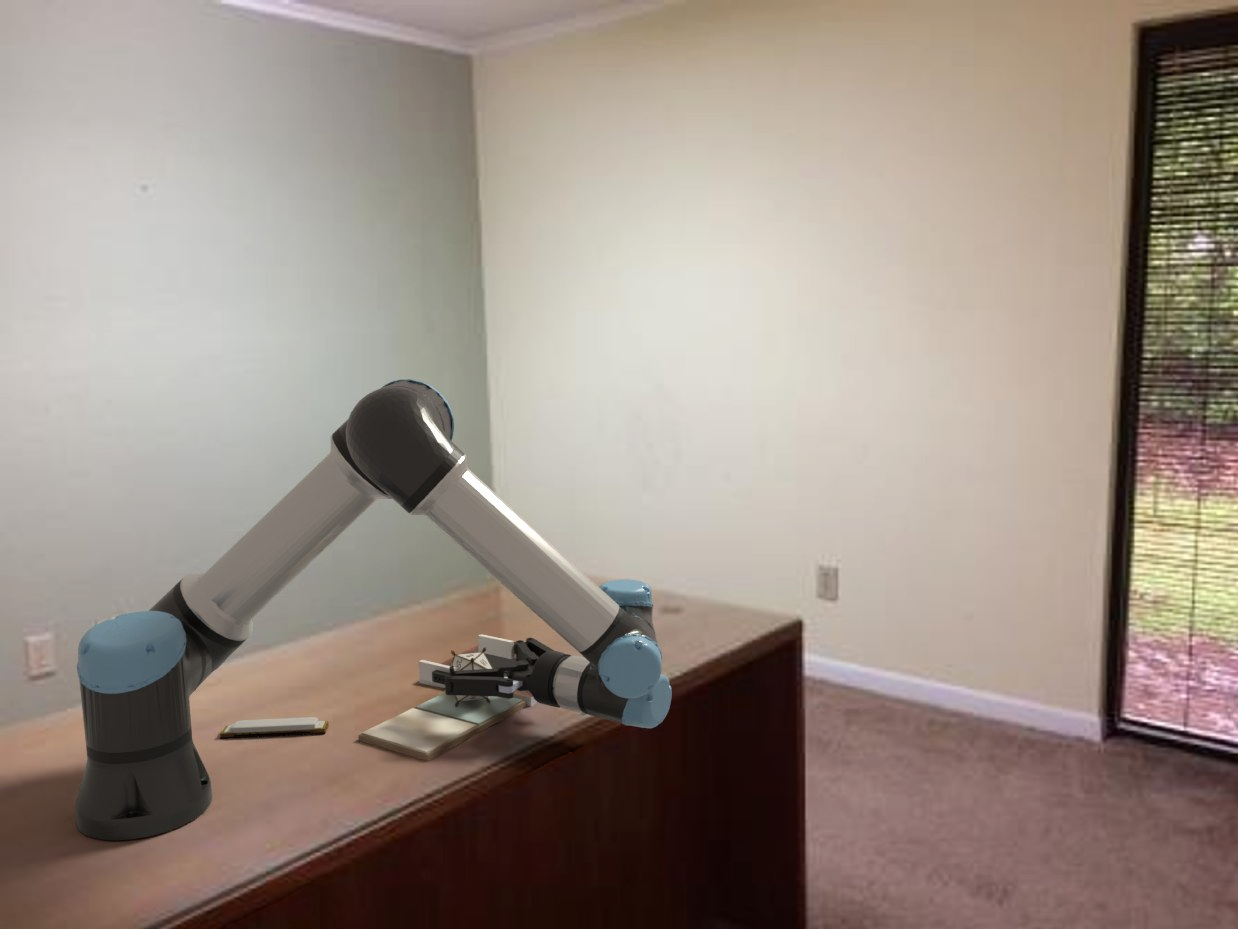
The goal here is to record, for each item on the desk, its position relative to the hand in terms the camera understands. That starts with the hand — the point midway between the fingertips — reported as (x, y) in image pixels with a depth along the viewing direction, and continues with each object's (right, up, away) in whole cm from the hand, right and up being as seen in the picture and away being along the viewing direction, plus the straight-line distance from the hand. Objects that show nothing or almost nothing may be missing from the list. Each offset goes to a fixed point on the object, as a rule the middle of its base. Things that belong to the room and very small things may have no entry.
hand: (451, 655), depth 157 cm
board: (0, -9, -5) cm, 10 cm away
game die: (+3, -7, 0) cm, 8 cm away
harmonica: (-24, -10, -8) cm, 27 cm away
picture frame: (+7, -7, +13) cm, 16 cm away
